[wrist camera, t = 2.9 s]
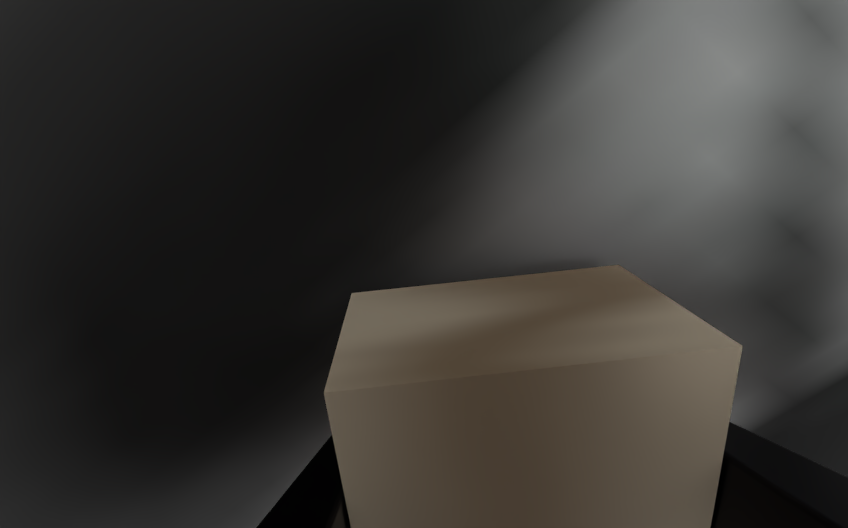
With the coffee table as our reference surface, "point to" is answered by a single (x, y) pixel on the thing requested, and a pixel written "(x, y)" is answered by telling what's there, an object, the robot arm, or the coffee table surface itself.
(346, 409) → the maple block
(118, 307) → the coffee table surface
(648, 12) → the coffee table surface
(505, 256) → the coffee table surface
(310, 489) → the robot arm
